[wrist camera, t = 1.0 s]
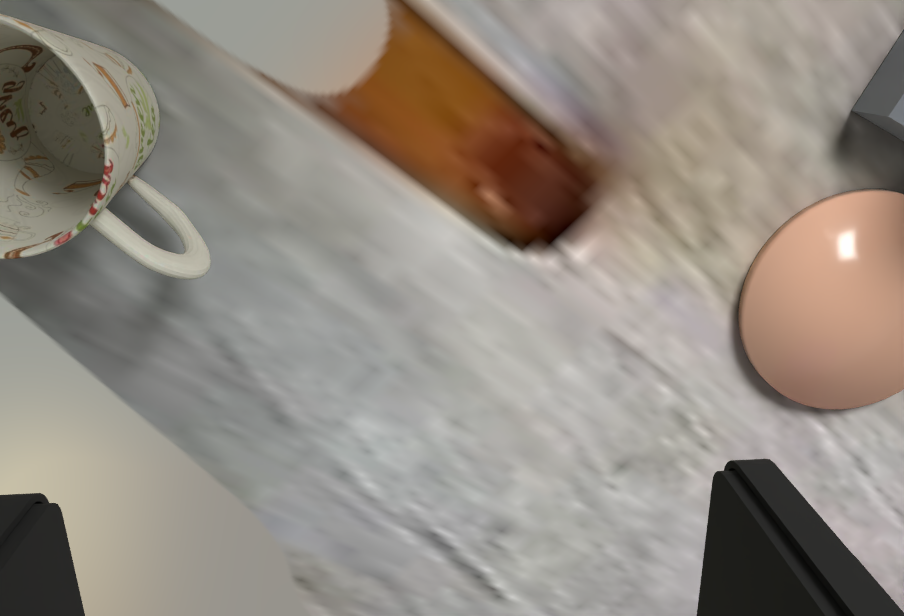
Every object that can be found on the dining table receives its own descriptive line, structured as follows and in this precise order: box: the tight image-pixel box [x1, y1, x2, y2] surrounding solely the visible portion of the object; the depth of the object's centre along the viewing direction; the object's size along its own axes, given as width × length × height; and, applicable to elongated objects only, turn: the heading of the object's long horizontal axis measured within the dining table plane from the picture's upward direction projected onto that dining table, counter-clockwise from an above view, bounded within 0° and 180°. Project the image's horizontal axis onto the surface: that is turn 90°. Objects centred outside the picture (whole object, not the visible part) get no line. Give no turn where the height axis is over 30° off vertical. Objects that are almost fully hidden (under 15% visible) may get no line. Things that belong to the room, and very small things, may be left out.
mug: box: [0, 14, 211, 279], centre depth 31 cm, size 8×13×10 cm, turn 45°
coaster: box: [739, 189, 904, 409], centre depth 40 cm, size 12×12×1 cm
